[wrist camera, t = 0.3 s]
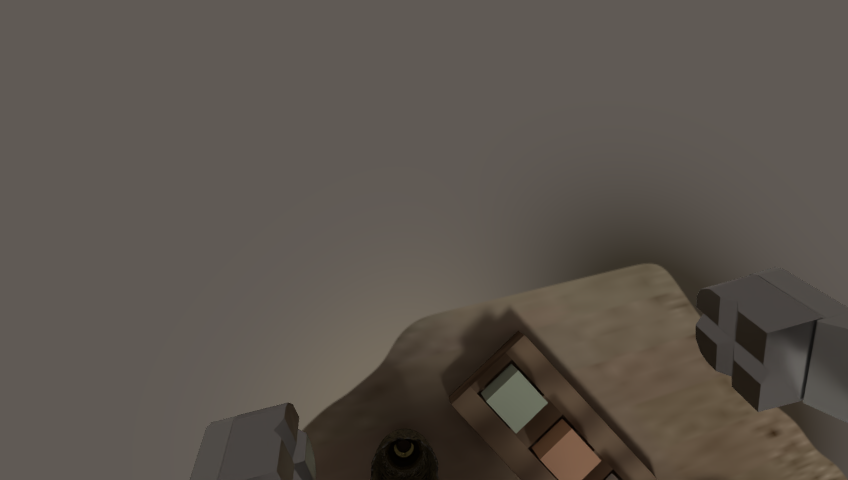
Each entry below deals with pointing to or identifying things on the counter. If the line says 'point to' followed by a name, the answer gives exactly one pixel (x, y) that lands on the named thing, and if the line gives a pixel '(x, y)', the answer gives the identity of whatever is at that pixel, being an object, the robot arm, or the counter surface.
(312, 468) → the robot arm
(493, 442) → the walnut button board
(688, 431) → the counter surface
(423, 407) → the counter surface
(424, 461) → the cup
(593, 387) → the counter surface
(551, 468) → the terracotta button
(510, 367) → the sage button
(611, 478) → the grey button
